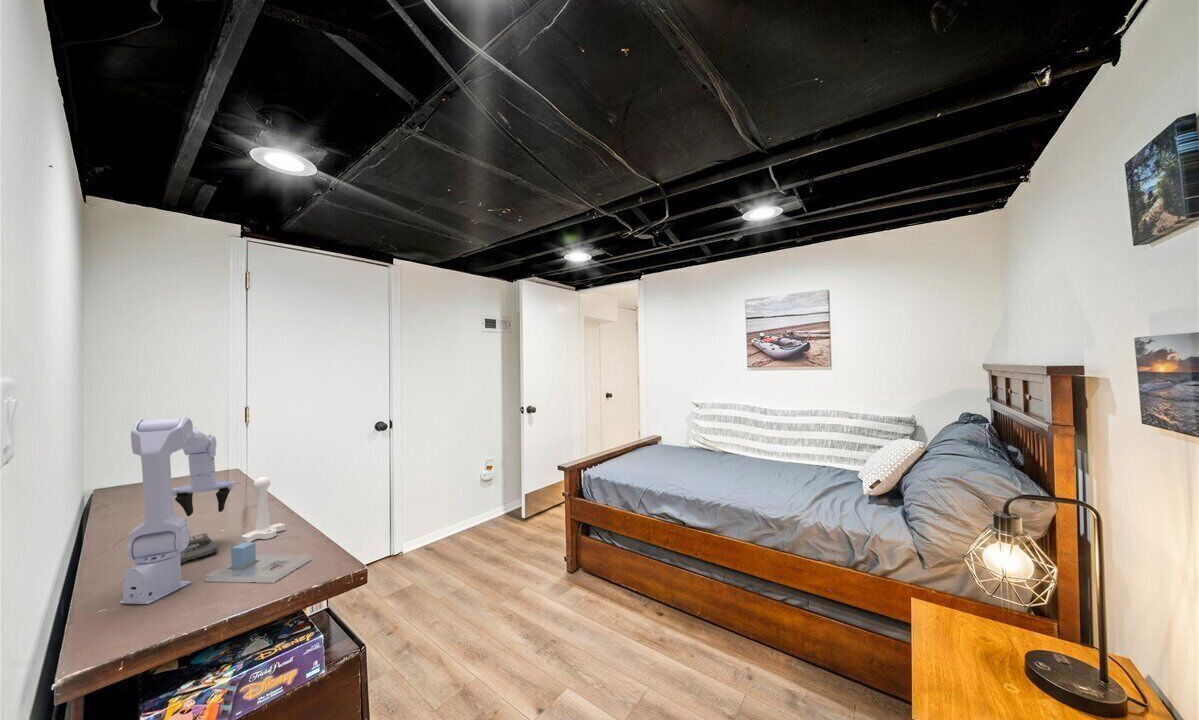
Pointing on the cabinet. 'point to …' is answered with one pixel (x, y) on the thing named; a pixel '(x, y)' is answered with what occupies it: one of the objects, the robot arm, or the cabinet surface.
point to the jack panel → (260, 569)
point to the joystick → (262, 514)
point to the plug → (243, 555)
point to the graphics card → (198, 548)
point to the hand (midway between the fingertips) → (206, 512)
